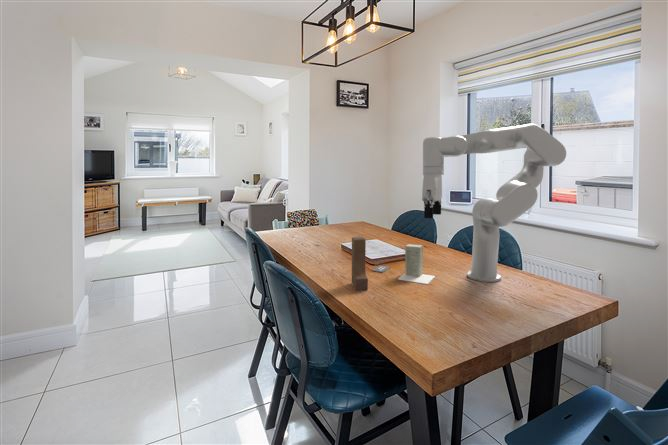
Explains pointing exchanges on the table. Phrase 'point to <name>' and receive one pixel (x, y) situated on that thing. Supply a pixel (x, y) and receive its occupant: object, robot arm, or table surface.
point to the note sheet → (417, 278)
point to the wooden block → (359, 264)
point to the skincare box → (414, 260)
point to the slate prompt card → (381, 269)
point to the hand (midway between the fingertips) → (432, 216)
